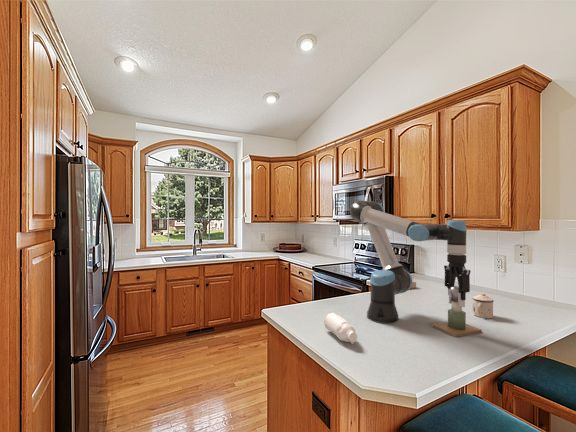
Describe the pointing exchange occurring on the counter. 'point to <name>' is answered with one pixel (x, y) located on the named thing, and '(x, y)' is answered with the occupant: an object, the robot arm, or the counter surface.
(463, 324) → the brown board with cylinder
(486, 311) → the teacup with lid
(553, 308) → the counter surface
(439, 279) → the counter surface
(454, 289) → the cap
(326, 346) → the counter surface
